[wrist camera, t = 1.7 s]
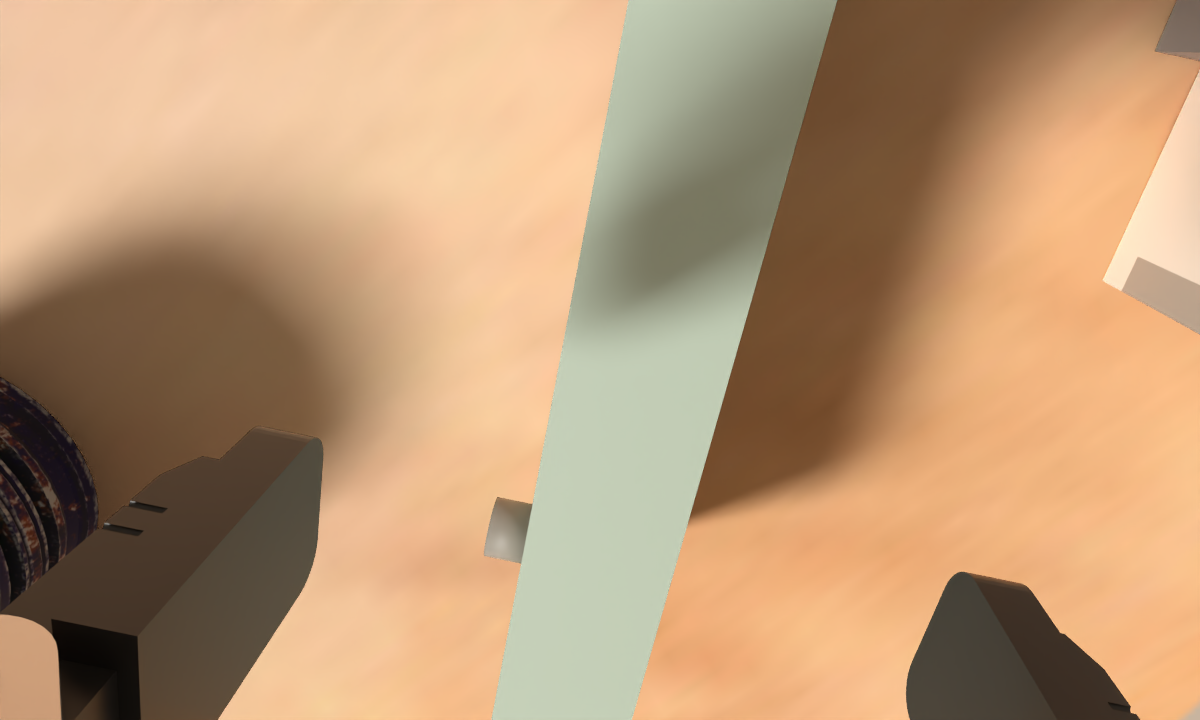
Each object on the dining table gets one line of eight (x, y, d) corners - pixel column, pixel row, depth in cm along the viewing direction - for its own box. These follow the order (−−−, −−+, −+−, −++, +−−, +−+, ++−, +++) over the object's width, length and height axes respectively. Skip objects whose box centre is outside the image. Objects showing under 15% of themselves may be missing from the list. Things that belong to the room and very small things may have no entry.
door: (507, 514, 27) (430, 759, 18) (625, -152, 20) (596, -322, 10) (626, 538, 27) (610, 795, 18) (790, -117, 20) (909, -253, 10)
